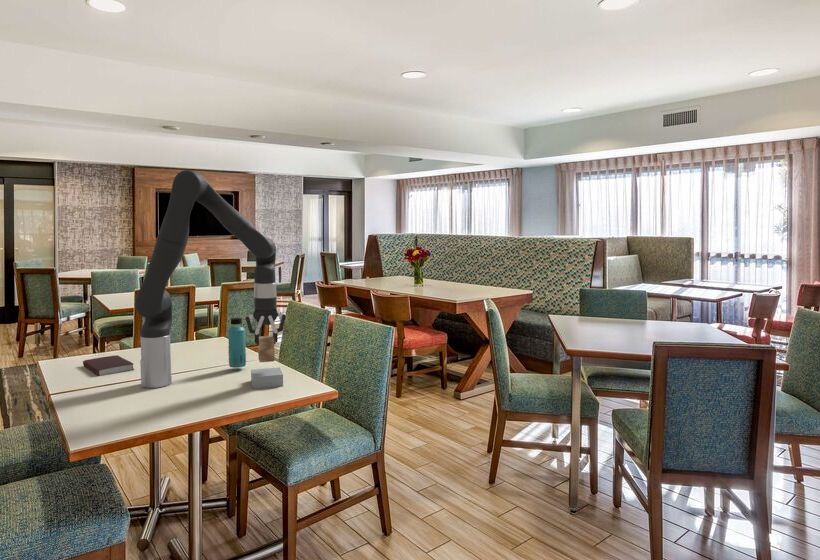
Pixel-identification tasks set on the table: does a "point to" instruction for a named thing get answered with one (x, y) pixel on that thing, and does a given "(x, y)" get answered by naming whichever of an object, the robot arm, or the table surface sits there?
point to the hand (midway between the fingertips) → (266, 343)
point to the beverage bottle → (236, 344)
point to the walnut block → (266, 349)
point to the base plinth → (266, 377)
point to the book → (108, 365)
